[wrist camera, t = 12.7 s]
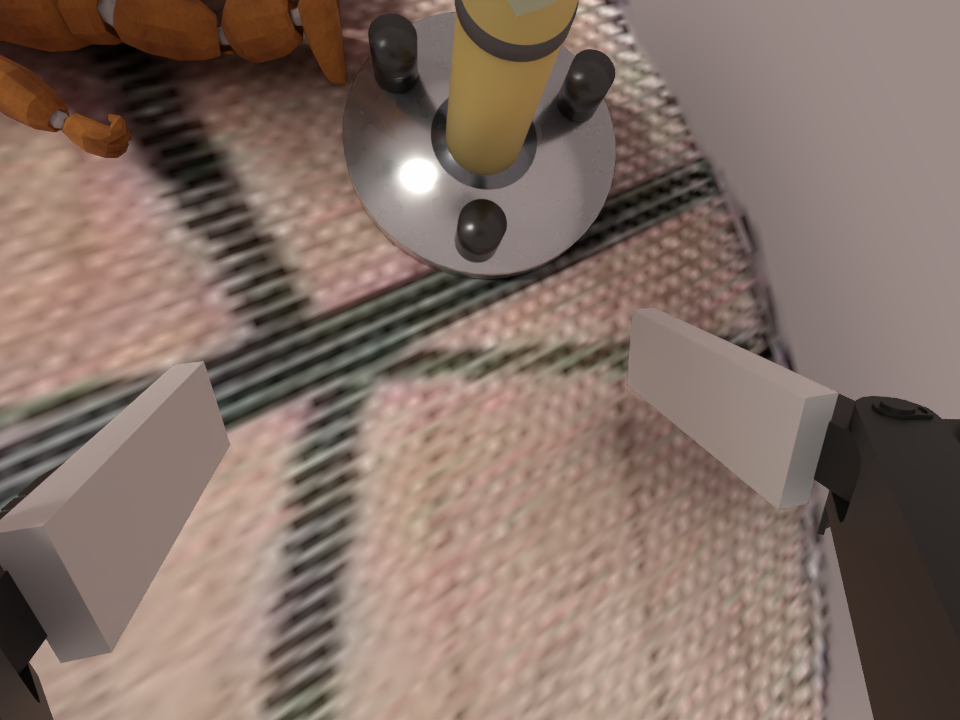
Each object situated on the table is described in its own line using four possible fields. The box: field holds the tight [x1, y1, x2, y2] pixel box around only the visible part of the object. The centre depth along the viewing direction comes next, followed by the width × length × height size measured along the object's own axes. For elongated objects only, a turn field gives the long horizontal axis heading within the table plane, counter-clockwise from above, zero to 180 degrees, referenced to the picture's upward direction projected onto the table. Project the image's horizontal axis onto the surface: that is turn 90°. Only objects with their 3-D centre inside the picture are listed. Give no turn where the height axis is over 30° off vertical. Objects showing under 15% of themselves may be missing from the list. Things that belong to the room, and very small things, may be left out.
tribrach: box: [343, 12, 616, 279], centre depth 29 cm, size 18×18×4 cm
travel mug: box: [446, 0, 578, 175], centre depth 23 cm, size 5×5×12 cm
